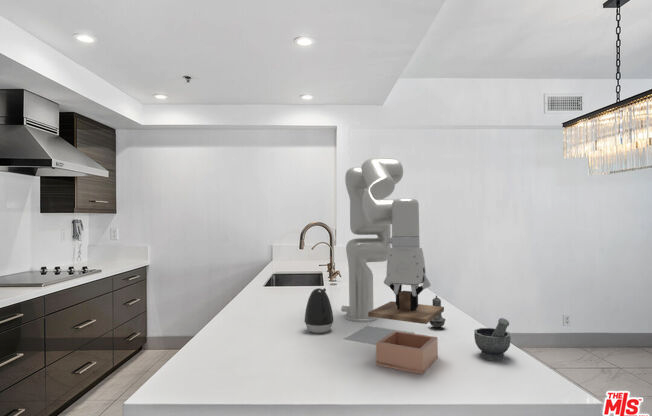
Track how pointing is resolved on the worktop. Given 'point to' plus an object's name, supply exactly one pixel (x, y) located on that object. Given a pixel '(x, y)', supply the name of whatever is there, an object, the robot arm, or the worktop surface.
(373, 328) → the rubber mat
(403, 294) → the walnut lid
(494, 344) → the mortar and pestle
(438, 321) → the dark stone chess piece
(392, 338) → the open terracotta box
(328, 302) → the dark grey egg shape
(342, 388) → the worktop surface
